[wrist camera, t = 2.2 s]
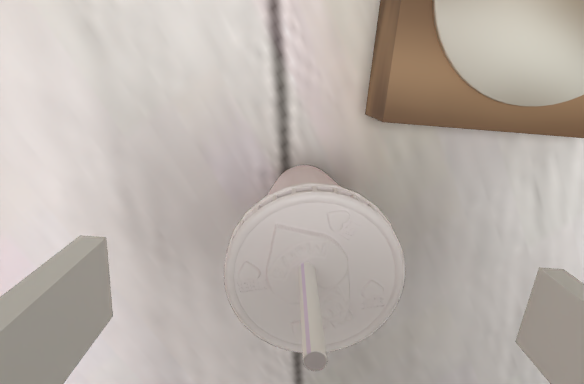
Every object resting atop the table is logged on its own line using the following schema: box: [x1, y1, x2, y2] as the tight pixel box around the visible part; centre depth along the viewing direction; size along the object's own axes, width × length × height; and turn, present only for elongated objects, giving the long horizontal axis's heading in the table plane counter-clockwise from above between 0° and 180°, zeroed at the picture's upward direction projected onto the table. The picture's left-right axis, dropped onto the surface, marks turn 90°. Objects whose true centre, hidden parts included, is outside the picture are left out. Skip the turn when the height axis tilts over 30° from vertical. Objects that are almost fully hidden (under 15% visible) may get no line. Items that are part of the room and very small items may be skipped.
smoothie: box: [224, 165, 405, 371], centre depth 15 cm, size 6×6×14 cm
